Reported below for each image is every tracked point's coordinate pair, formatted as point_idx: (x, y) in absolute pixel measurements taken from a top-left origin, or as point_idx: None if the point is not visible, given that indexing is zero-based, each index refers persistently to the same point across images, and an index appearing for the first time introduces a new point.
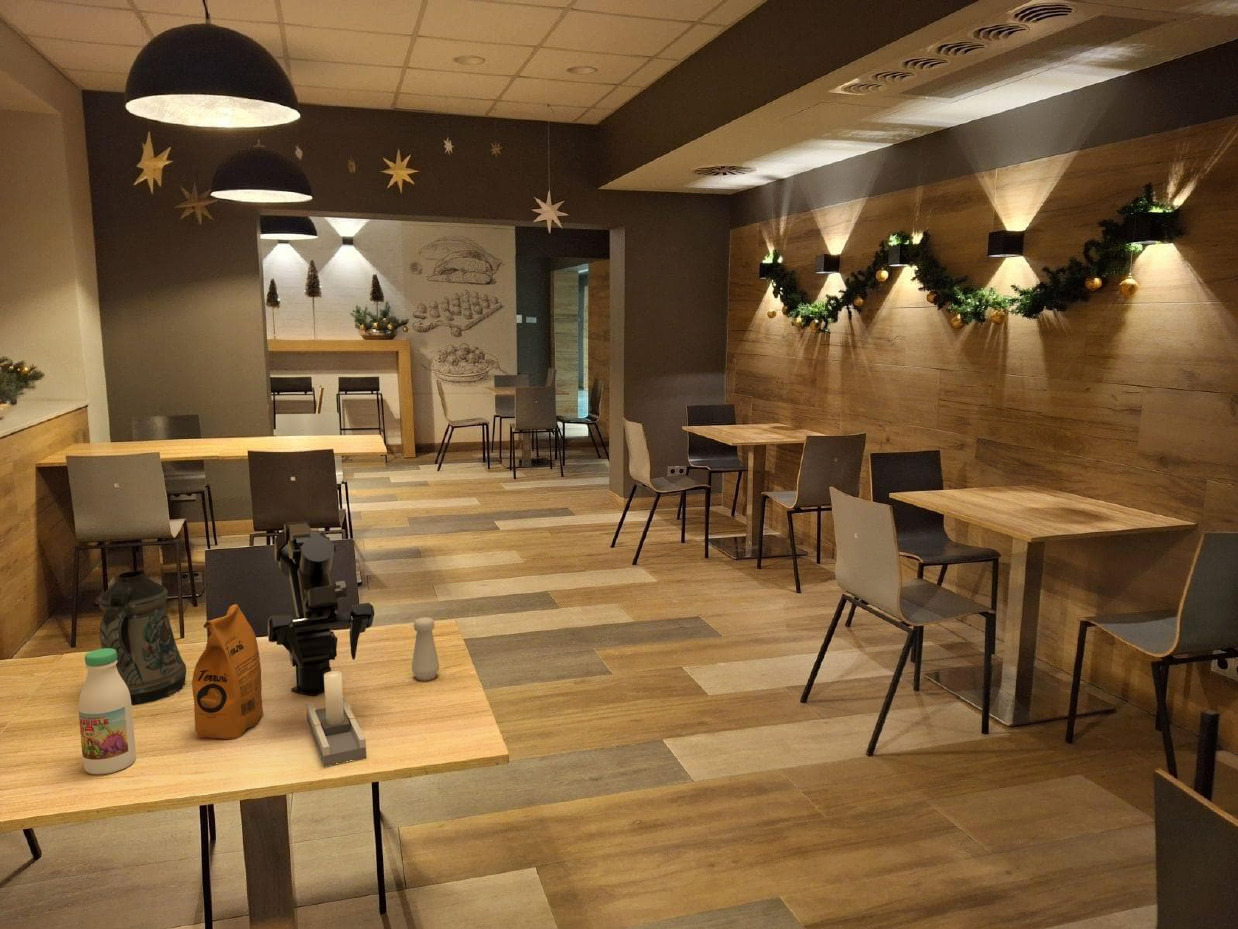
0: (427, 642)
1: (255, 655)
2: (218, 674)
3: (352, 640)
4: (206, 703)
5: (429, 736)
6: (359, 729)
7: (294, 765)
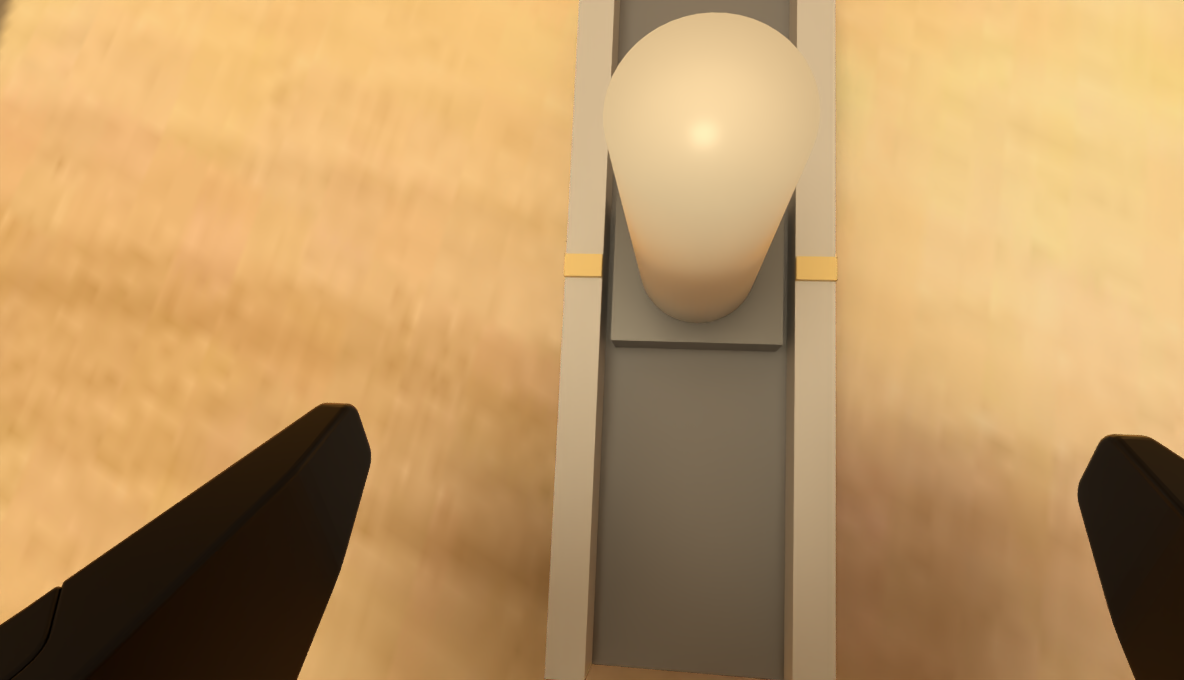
0: None
1: None
2: None
3: (167, 579)
4: None
5: (254, 108)
6: (582, 78)
7: (958, 95)
